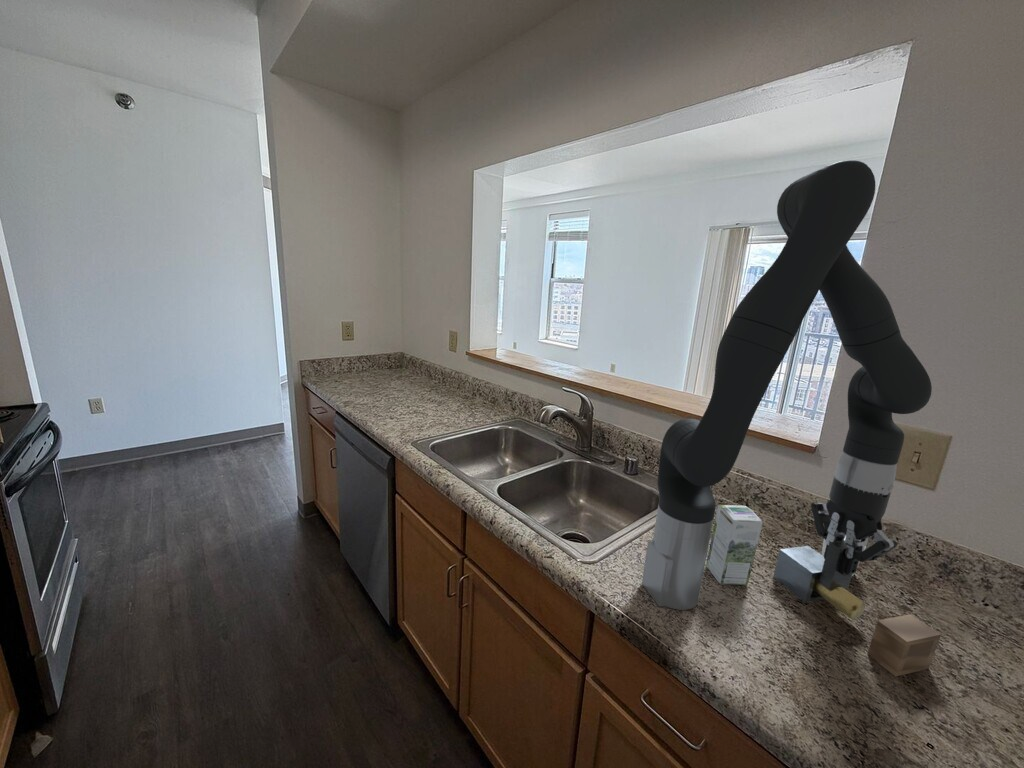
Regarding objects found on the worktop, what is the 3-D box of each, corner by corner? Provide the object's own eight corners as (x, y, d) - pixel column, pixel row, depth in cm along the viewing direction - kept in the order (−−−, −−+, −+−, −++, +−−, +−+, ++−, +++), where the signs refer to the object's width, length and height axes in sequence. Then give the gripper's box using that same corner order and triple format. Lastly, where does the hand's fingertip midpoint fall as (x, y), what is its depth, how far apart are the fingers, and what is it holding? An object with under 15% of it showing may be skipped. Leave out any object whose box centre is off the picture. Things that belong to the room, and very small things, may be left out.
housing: (773, 577, 83) (779, 549, 81) (801, 572, 84) (807, 545, 83) (804, 602, 76) (812, 573, 74) (834, 597, 78) (842, 568, 76)
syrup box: (732, 566, 85) (745, 503, 82) (749, 586, 79) (763, 520, 76) (705, 565, 85) (717, 502, 82) (720, 586, 79) (733, 519, 76)
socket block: (867, 653, 66) (877, 620, 64) (899, 646, 67) (910, 614, 66) (895, 676, 62) (907, 641, 60) (928, 668, 64) (940, 634, 62)
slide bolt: (780, 570, 83) (792, 519, 80) (797, 567, 84) (810, 517, 81) (844, 620, 70) (861, 562, 68) (864, 617, 71) (881, 559, 69)
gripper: (807, 464, 75) (787, 547, 79) (891, 503, 62) (862, 600, 66) (839, 462, 77) (818, 543, 81) (926, 499, 64) (896, 594, 68)
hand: (838, 568), depth 73 cm, fingers closed on slide bolt, 2 cm apart
